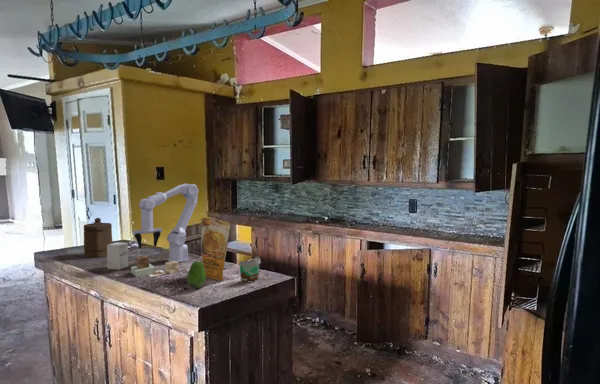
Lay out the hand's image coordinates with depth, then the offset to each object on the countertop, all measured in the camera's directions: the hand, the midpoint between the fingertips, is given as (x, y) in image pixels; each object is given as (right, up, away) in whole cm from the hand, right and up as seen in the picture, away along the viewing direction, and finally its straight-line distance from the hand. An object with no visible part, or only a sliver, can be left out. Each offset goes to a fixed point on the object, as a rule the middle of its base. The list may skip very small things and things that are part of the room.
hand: (147, 246), depth 195 cm
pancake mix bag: (+39, -12, -17) cm, 44 cm away
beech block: (+16, -11, -9) cm, 22 cm away
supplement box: (-15, -11, -2) cm, 18 cm away
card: (+9, -11, -12) cm, 19 cm away
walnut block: (+3, -8, -13) cm, 15 cm away
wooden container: (-40, -9, +25) cm, 48 cm away
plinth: (+3, -11, -12) cm, 17 cm away
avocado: (+35, -13, -32) cm, 50 cm away
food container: (+58, -13, -21) cm, 63 cm away
